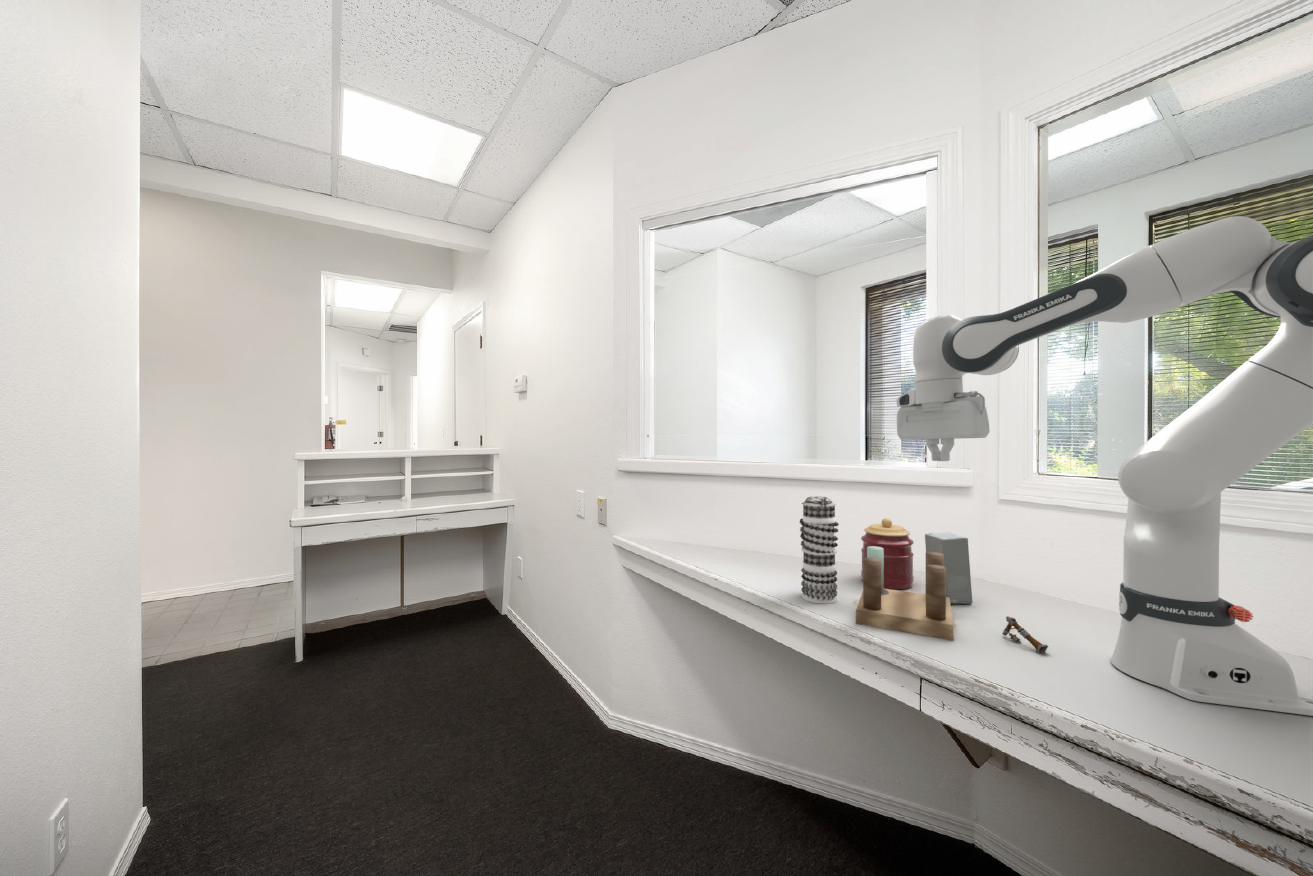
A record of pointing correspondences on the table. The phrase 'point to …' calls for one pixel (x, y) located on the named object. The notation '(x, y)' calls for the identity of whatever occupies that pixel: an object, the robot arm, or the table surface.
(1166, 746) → the table surface
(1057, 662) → the table surface
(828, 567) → the decorative candle
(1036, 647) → the wooden post with brackets
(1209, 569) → the robot arm
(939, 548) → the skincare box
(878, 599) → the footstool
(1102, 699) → the table surface
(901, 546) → the canister
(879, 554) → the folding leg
